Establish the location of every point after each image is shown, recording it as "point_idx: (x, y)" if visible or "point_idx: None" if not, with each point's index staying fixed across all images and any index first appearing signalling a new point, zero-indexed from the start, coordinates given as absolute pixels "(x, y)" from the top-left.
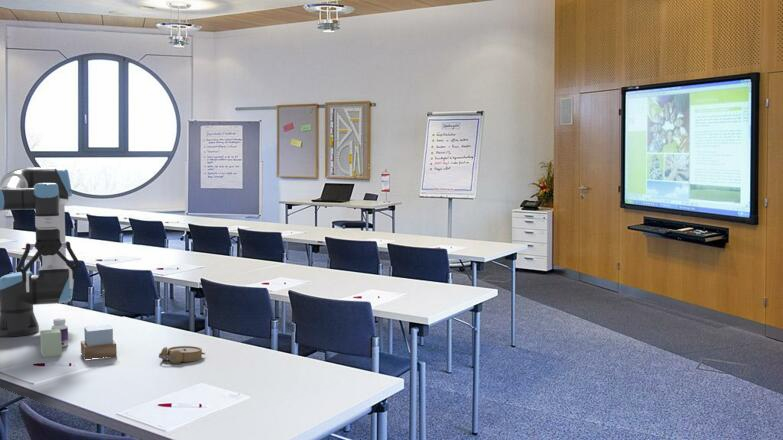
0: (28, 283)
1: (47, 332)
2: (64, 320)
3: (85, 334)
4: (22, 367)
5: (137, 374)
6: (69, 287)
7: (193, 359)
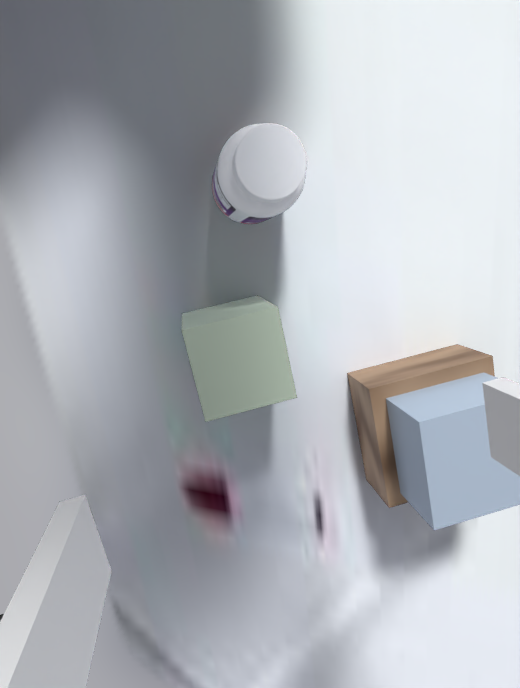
0: (87, 653)
1: (228, 386)
2: (302, 180)
3: (408, 443)
4: (151, 528)
5: (513, 664)
6: (485, 392)
7: None
